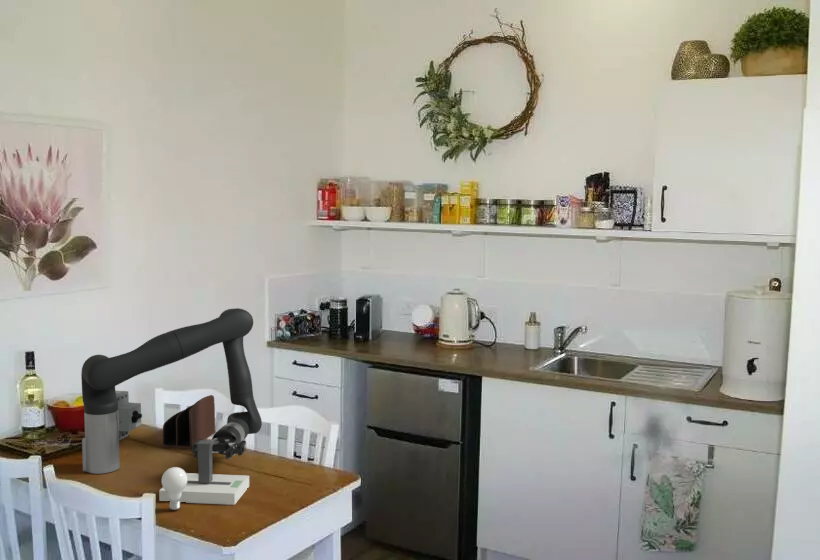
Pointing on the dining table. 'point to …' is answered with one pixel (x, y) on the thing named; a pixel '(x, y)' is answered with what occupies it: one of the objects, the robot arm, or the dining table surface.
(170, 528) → the dining table surface
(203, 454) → the handle
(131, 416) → the circuit breaker
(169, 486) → the lightbulb
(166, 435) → the letter holder
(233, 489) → the breaker panel
